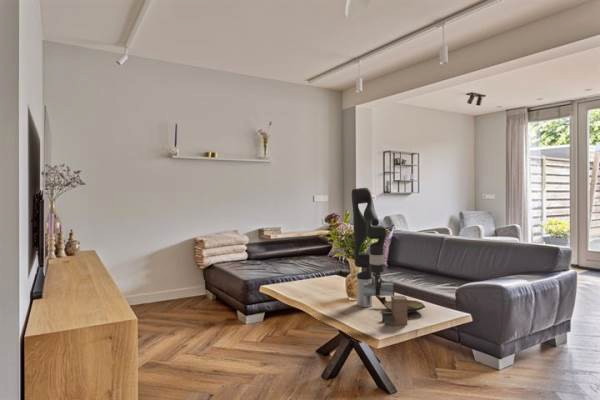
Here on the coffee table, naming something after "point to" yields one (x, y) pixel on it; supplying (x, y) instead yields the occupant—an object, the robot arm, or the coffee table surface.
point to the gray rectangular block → (385, 289)
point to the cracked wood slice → (411, 304)
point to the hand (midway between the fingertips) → (376, 294)
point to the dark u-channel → (396, 311)
